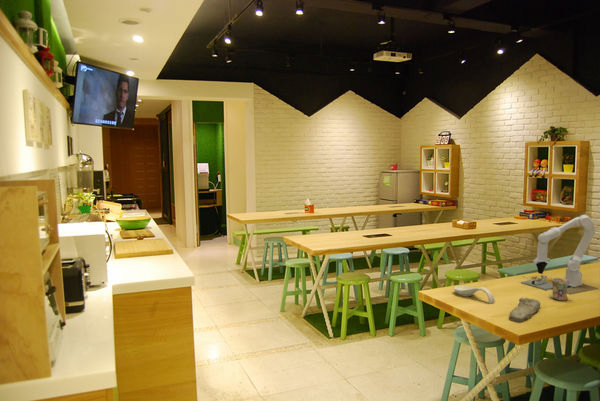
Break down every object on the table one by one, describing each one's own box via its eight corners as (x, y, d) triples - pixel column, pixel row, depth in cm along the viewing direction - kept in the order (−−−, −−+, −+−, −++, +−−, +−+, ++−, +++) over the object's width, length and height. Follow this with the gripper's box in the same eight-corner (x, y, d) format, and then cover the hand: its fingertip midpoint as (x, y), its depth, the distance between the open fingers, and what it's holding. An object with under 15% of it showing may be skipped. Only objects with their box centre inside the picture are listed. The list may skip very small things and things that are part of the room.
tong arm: (542, 280, 285) (542, 275, 285) (548, 282, 282) (549, 276, 282) (530, 283, 279) (531, 277, 278) (537, 285, 275) (537, 279, 275)
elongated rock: (503, 322, 222) (524, 328, 216) (504, 312, 221) (525, 318, 215) (524, 301, 248) (544, 306, 242) (525, 292, 247) (545, 297, 241)
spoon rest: (449, 293, 261) (450, 281, 260) (462, 290, 267) (462, 278, 267) (486, 305, 241) (487, 292, 241) (498, 301, 248) (499, 289, 247)
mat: (535, 280, 290) (535, 278, 290) (560, 286, 276) (560, 285, 276) (520, 283, 282) (521, 282, 282) (545, 290, 269) (545, 289, 268)
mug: (572, 301, 249) (573, 283, 248) (555, 301, 249) (557, 282, 248) (559, 294, 261) (561, 276, 260) (543, 294, 261) (545, 276, 260)
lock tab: (533, 279, 286) (534, 276, 286) (536, 280, 285) (536, 276, 285) (531, 280, 285) (531, 276, 285) (533, 281, 284) (534, 277, 283)
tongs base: (541, 280, 286) (541, 276, 285) (546, 282, 283) (546, 277, 282) (529, 283, 280) (529, 278, 279) (534, 284, 277) (534, 280, 276)
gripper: (543, 250, 293) (541, 270, 295) (529, 252, 286) (527, 273, 288) (553, 252, 287) (551, 273, 289) (539, 254, 280) (538, 276, 282)
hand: (540, 273), depth 288 cm, fingers closed
